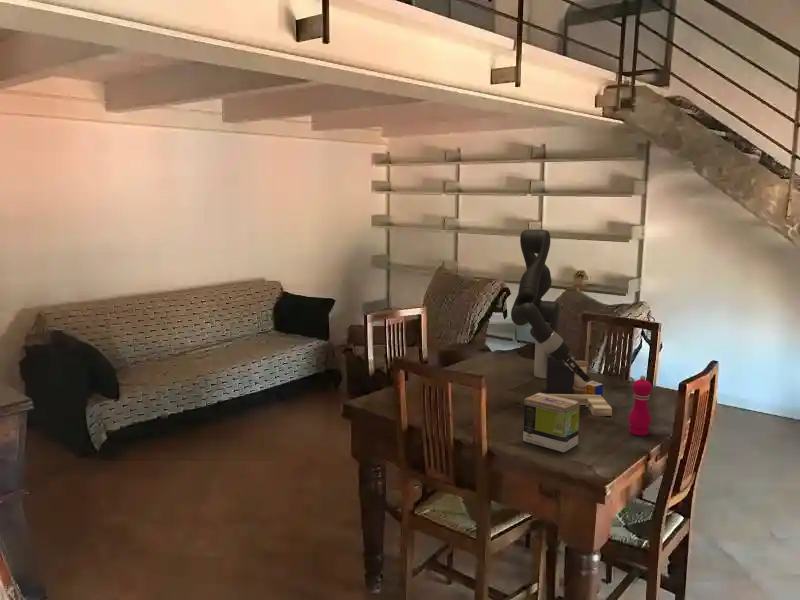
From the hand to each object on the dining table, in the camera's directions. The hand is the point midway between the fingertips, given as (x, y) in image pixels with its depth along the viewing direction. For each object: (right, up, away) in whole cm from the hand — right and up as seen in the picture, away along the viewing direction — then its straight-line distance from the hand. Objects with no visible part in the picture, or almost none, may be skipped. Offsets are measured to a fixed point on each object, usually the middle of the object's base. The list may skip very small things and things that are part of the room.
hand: (585, 377), depth 245 cm
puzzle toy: (+8, -10, +17) cm, 21 cm away
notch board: (-2, -12, +2) cm, 12 cm away
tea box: (-20, -18, -31) cm, 41 cm away
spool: (-2, -4, +1) cm, 4 cm away
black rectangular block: (-4, -9, +22) cm, 24 cm away
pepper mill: (+12, -16, -21) cm, 29 cm away
